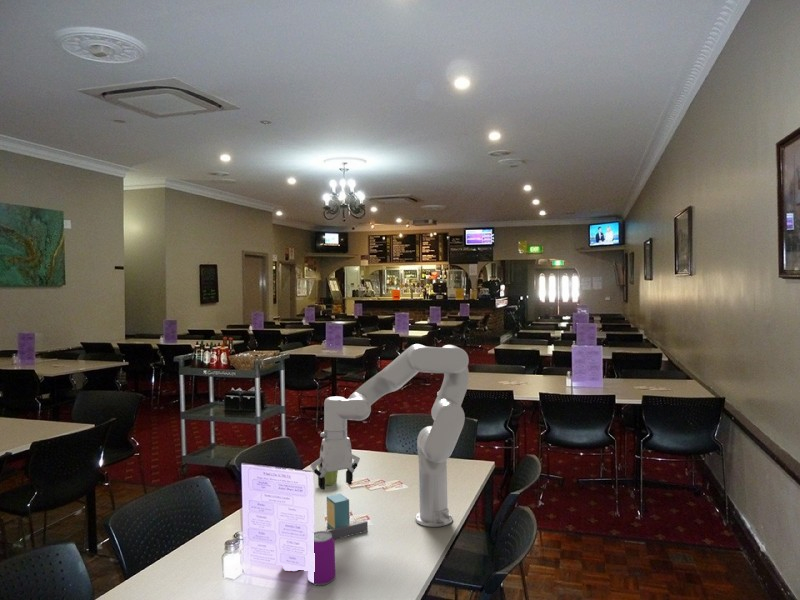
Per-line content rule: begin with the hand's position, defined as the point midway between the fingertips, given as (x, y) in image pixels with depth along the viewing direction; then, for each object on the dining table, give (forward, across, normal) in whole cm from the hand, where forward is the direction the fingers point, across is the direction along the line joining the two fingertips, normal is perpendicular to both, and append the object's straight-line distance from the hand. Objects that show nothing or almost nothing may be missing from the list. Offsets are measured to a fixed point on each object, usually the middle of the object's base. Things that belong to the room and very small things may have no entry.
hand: (335, 486), depth 190 cm
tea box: (+14, +1, 0) cm, 14 cm away
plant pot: (+14, +16, +43) cm, 48 cm away
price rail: (+14, +1, -6) cm, 15 cm away
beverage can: (+14, -17, -29) cm, 37 cm away
